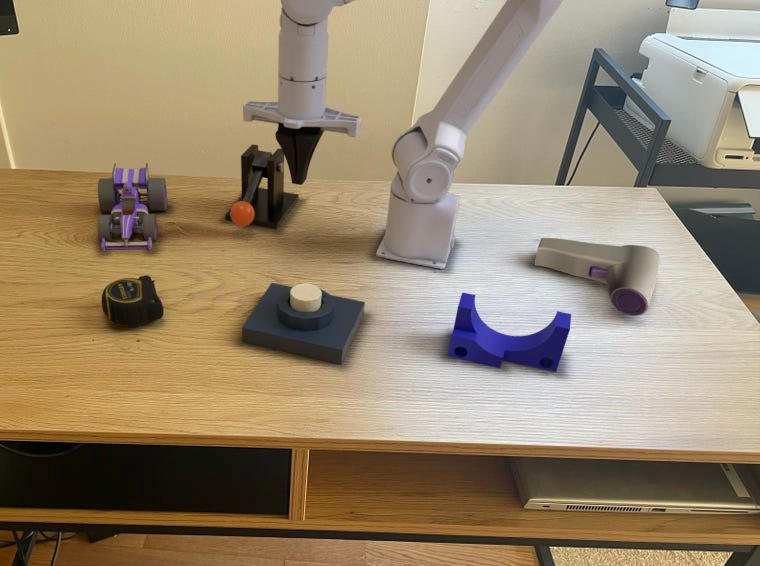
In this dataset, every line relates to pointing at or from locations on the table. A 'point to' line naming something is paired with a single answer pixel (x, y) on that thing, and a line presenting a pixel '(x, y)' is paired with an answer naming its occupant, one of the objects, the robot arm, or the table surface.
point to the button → (305, 297)
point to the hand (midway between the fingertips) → (299, 181)
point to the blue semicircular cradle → (506, 340)
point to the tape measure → (132, 301)
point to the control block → (304, 325)
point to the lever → (251, 191)
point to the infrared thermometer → (607, 269)
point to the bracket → (267, 190)
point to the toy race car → (129, 207)
